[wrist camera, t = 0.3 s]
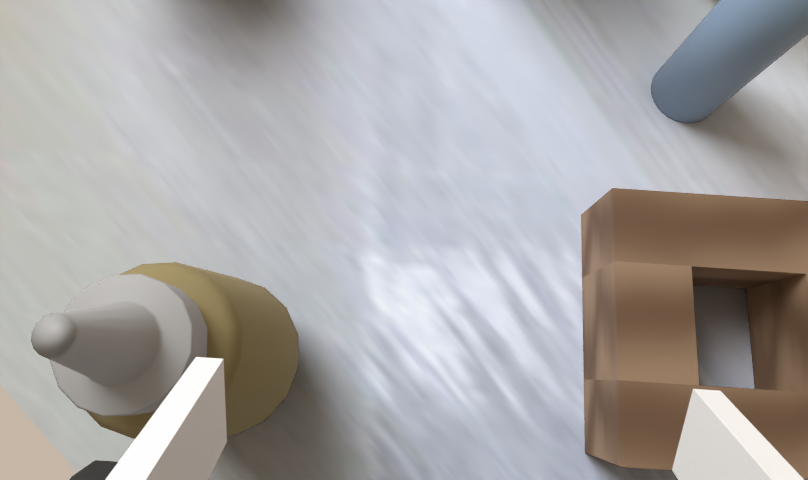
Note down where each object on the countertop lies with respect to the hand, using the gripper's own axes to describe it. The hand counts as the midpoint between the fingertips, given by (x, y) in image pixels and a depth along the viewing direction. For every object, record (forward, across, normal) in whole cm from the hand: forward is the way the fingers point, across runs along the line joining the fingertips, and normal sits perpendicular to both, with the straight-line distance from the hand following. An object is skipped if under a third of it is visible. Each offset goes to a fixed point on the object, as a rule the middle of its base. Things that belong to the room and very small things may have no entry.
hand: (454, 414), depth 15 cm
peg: (+25, -16, -9) cm, 31 cm away
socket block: (+16, -16, +5) cm, 24 cm away
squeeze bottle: (+15, +11, +8) cm, 20 cm away
